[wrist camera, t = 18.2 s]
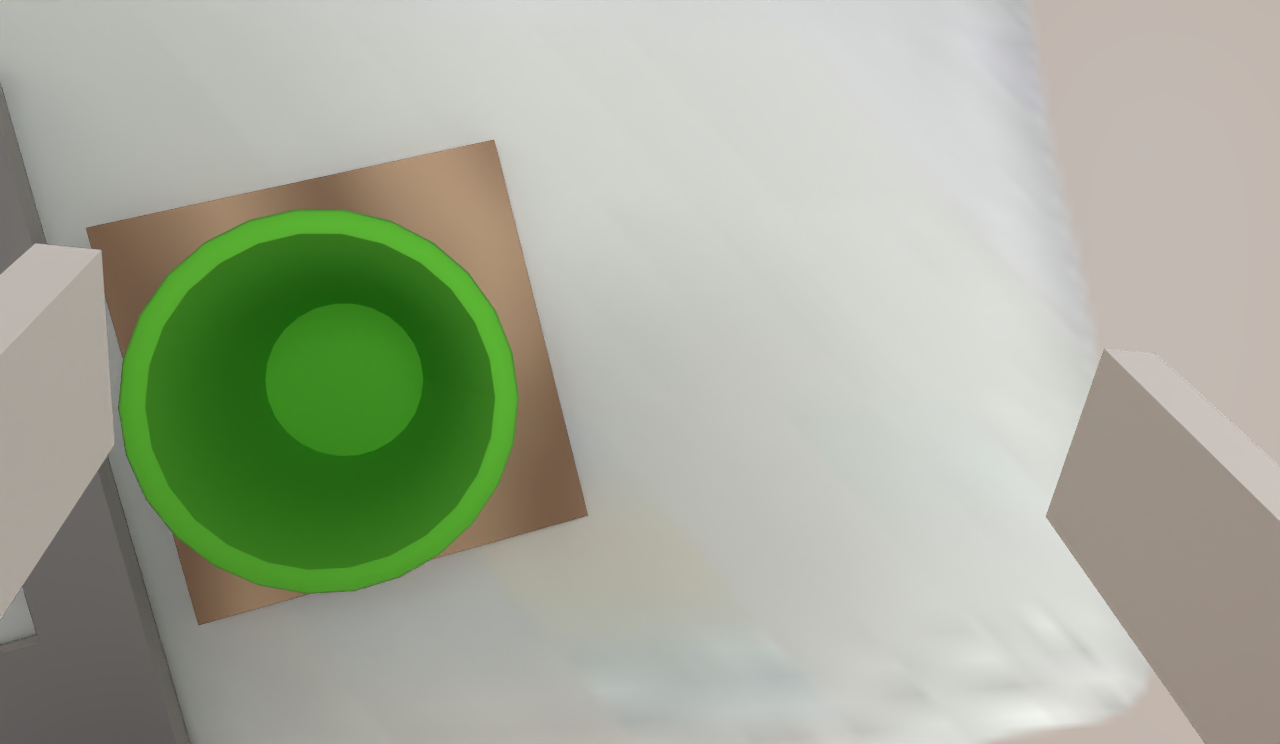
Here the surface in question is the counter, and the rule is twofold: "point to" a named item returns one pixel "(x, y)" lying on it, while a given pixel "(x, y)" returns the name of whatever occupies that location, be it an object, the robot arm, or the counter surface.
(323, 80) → the counter surface
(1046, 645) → the counter surface
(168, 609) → the counter surface
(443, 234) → the board
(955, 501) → the counter surface
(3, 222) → the equipment case
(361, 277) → the cup
